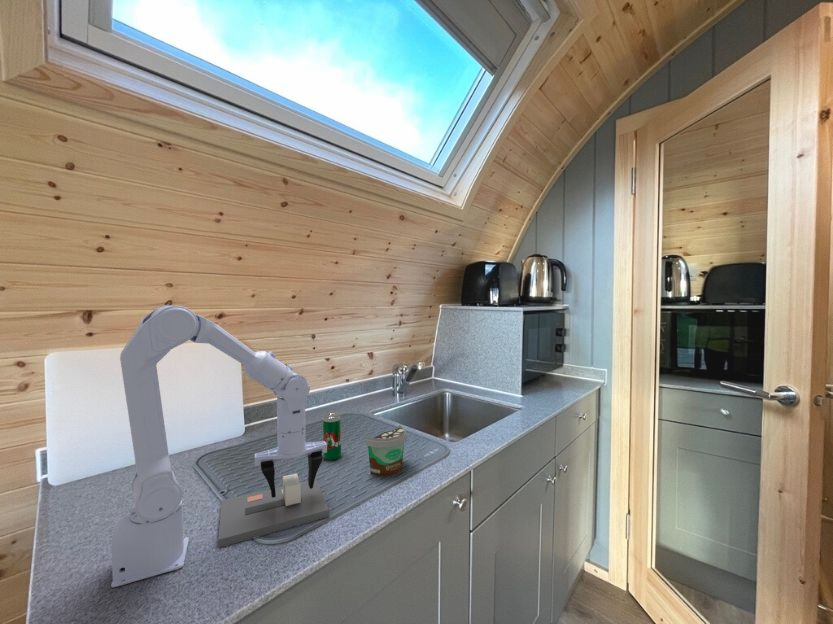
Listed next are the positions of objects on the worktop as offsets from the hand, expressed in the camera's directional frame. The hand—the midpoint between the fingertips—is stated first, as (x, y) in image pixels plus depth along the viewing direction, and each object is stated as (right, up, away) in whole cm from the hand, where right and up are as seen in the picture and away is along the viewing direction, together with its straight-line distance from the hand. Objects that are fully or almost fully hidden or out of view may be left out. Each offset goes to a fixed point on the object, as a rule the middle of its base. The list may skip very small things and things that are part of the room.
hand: (292, 490), depth 76 cm
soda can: (+3, -3, +24) cm, 24 cm away
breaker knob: (0, -2, 0) cm, 2 cm away
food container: (+20, -3, +16) cm, 26 cm away
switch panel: (-3, -4, -1) cm, 5 cm away
